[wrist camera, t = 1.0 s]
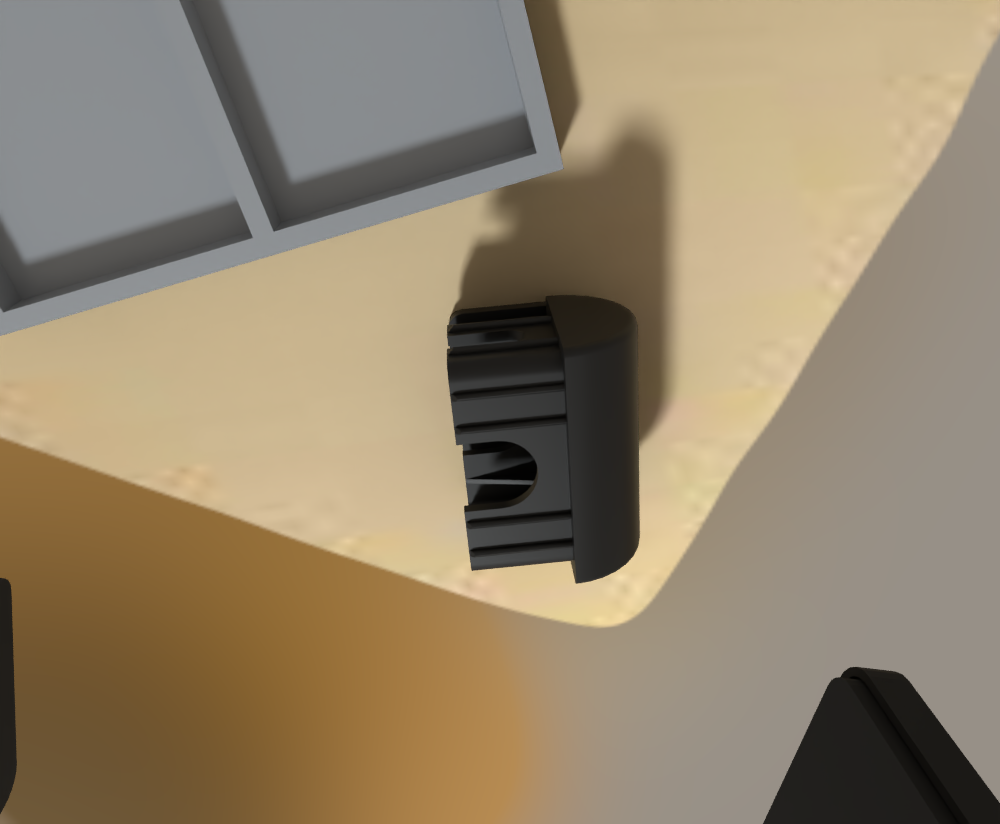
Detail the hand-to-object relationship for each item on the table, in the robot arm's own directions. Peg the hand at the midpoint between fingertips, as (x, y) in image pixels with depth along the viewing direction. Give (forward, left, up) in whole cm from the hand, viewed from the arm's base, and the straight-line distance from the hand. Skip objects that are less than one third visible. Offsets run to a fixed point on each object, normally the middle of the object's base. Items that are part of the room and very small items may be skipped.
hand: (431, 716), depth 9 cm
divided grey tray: (+6, -8, -26) cm, 28 cm away
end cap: (-2, +9, -26) cm, 27 cm away
